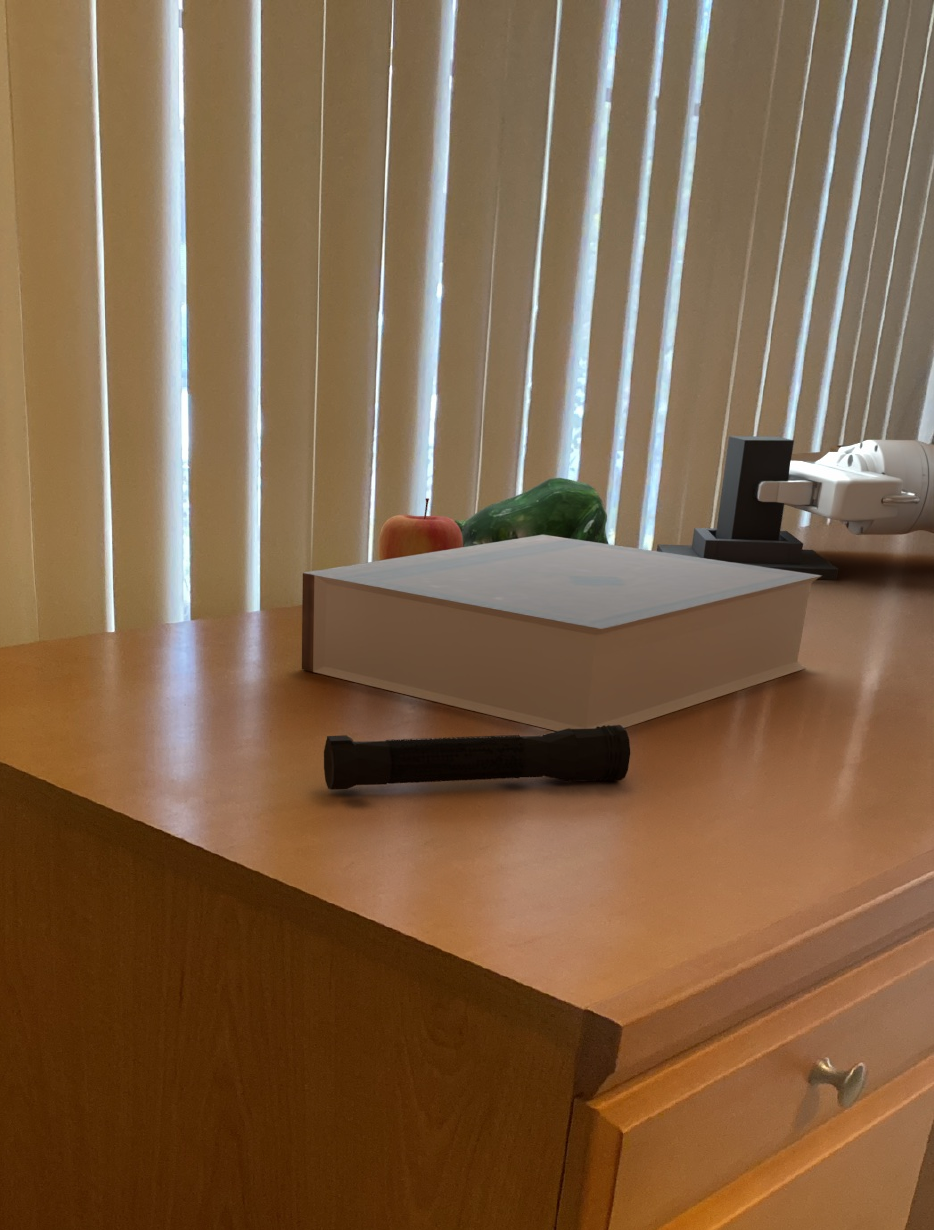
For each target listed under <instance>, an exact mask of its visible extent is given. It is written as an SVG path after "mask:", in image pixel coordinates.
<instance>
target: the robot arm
mask: <svg viewBox="0 0 934 1230" xmlns="http://www.w3.org/2000/svg"><path fill="white" fill-rule="evenodd" d="M754 498H755V499H756V500H758V501H761V502H779V503H784V506H787V507H790V508H791V507H792V508H794V509H798V510H801V511H804V512H807V513H810V514H814V515H816V516H820V517H823V518H826V519H829V520H833V521H839V522H840V523H842V524H843V525H845V527H846V529H847V530H848V531H849V532H850V533H852V534H853V535H858V536H863V535H864V536H866V535H867V536H868V535H869V536H870V535H871V536H872V535H873V536H874V535H875V536H876V535H877V536H879V535H880V536H884V535H885V536H886V535H887V536H888V535H889V536H890V535H891V536H893V535H899V536H900V535H907V534H910V533H914V532H917V531H925V532H928V533H931V534H934V444H932V443H931V444H930V443H926V442H924V441H922V440H918V439H916V440H915V439H866V440H863V441H862V442H859V443H854V444H852V445H851V444H849V445H846V444H843V445H842V444H841V445H840V444H839V445H831V446H830V447H829V450H828V451H815V452H813V451H812V452H802V453H801V452H800V453H792V457H791V464H790V470H789V477H788V481H758V482H757V483H756V484H755V491H754Z"/></svg>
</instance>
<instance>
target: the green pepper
mask: <svg viewBox="0 0 934 1230" xmlns="http://www.w3.org/2000/svg"><path fill="white" fill-rule="evenodd" d="M453 521H454V522H455V523H456V524H457V525H458V526H459V528H460V530H461V533H462V538H463V547H468V546H475V545H481V544H487V543H493V542H500V541H506V540H512V539H519V538H525V537H531V536H537V535H548V536H555V537H562V538H569V539H576V540H582V541H589V542H596V543H603V544H609V541H608V537H607V532H606V526H607V522H608V514H607V510H606V507H605V505H604V503H603V500H602V498H601V496H600V494H599V493H598V492H597V490H596V488H595V487H593V486H592V485H590V484H588V483H587V482H583V481H577V480H574V479H573V480H572V479H570V478H563V477H553V478H549V479H546V480H544V481H542V482H541V483H539V484H537V485H536V486H534V487H532V488H529V489H528V490H526V491H523V492H521V493H519V494H517V495H515V496H512V497H509V498H506V499H504V500H501V501H499V502H494V503H491V504H490V505H487V506H485V507H483V508H482V509H481V510H479V511H477V512H476V513H474V514H473V515H472V516H471V517H469V518H468V519H465V520H458V519H456V520H453Z"/></svg>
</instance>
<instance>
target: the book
mask: <svg viewBox="0 0 934 1230" xmlns="http://www.w3.org/2000/svg"><path fill="white" fill-rule="evenodd" d="M821 576H822V575H815V574H808V573H801V572H794V571H788V570H781V569H774V568H767V567H760V566H753V565H747V564H740V563H733V562H726V561H719V560H712V559H706V558H699V557H692V556H685V555H678V554H671V553H665V552H658V551H657V550H650V549H643V548H638V547H637V548H636V547H630V546H629V547H628V546H624V545H616V544H603V543H596V542H589V541H582V540H576V539H569V538H562V537H555V536H548V535H537V536H531V537H525V538H519V539H512V540H506V541H500V542H493V543H487V544H481V545H475V546H468V547H462V548H456V549H449V550H443V551H437V552H431V553H424V554H418V555H412V556H406V557H399V558H393V559H387V560H380V559H379V560H375V561H368V562H363V563H356V564H350V565H343V566H338V567H331V568H324V569H318V570H312V571H306V572H302V592H301V593H302V595H301V597H302V600H301V601H302V604H301V606H302V608H301V609H302V611H301V670H304V671H307V672H313V673H316V674H320V675H325V676H329V677H333V678H336V679H341V680H346V681H350V682H354V683H356V684H362V685H364V686H365V685H366V686H369V687H374V688H378V689H382V690H385V691H390V692H395V693H399V694H402V695H407V696H409V697H415V698H419V699H424V700H427V701H431V702H434V703H440V704H443V705H448V706H452V707H455V708H460V709H463V710H469V711H472V712H473V711H474V712H477V713H480V714H485V715H488V716H492V717H497V718H500V719H501V718H502V719H506V720H508V721H509V720H510V721H513V722H518V723H522V724H526V725H531V726H535V727H538V728H543V729H547V730H551V731H554V732H557V731H561V730H564V729H568V728H570V729H593V728H596V727H597V726H598V727H602V726H604V725H605V726H608V725H610V726H612V725H621V726H622V727H623V728H624V729H625V728H629V727H631V726H634V725H637V724H640V723H644V722H646V721H650V720H652V719H653V720H654V719H656V718H658V717H659V718H660V717H661V716H664V715H668V714H671V713H674V712H678V711H679V710H680V711H681V710H683V709H686V708H689V707H692V706H695V705H699V704H702V703H705V702H708V701H710V700H713V699H716V698H720V697H722V696H726V695H728V694H732V693H736V692H738V691H741V690H745V689H747V688H750V687H754V686H756V685H759V684H762V683H765V682H769V681H771V680H774V679H778V678H781V677H784V676H786V675H789V674H793V673H795V672H796V673H797V672H799V671H802V670H804V669H806V667H805V666H804V665H803V664H802V663H801V662H799V655H800V650H801V649H800V648H801V643H802V638H803V632H804V625H805V619H806V613H807V607H808V601H809V597H810V593H811V589H812V588H811V587H812V583H813V582H815V581H816V580H818V579H817V578H819V577H821Z"/></svg>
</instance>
